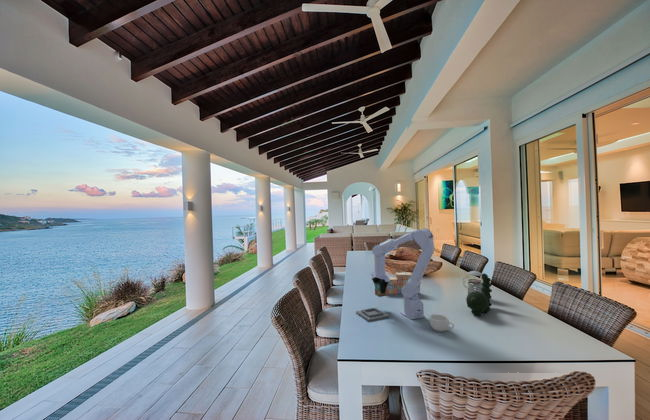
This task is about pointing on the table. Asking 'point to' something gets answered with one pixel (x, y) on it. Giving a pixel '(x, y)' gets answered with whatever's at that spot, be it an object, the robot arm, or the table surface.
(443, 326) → the teacup
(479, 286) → the french press
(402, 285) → the stack of blocks
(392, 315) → the table surface
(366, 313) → the plate
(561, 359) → the table surface
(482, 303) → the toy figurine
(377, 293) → the block stack
